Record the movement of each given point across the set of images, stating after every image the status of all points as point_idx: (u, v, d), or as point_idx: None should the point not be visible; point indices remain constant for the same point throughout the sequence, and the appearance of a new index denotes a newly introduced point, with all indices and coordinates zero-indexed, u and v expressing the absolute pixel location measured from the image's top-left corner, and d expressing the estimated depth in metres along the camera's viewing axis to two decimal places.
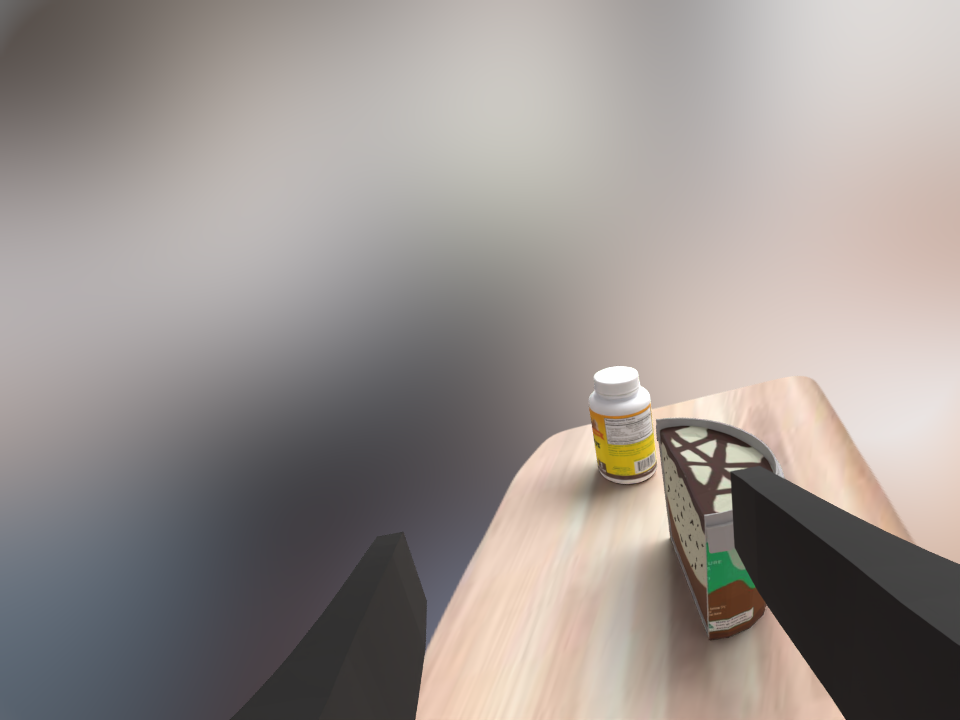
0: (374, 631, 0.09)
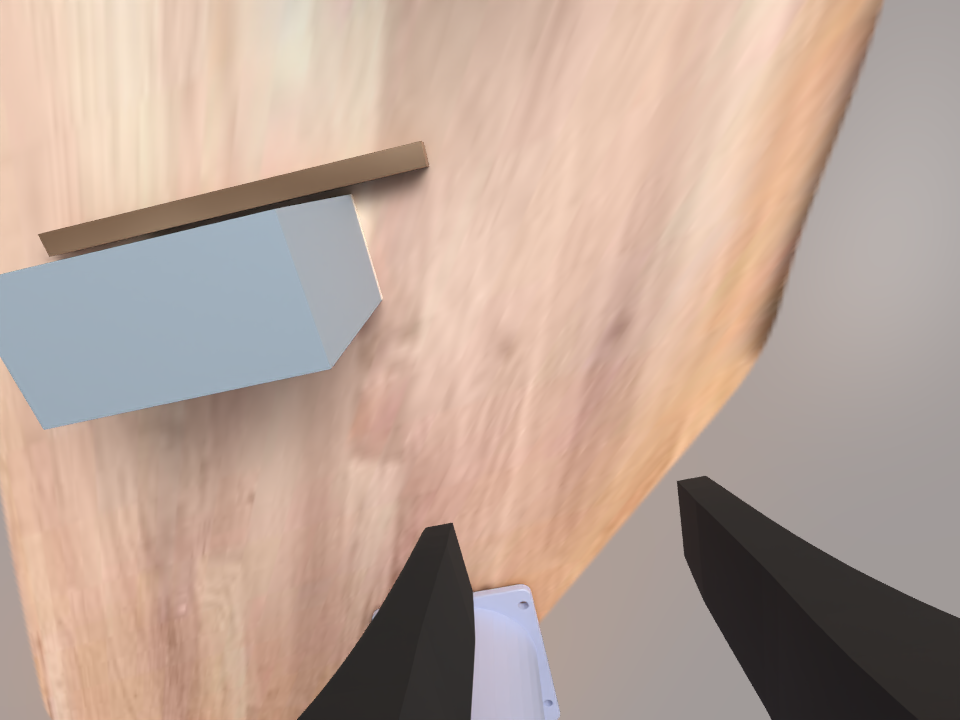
0: (436, 620, 0.09)
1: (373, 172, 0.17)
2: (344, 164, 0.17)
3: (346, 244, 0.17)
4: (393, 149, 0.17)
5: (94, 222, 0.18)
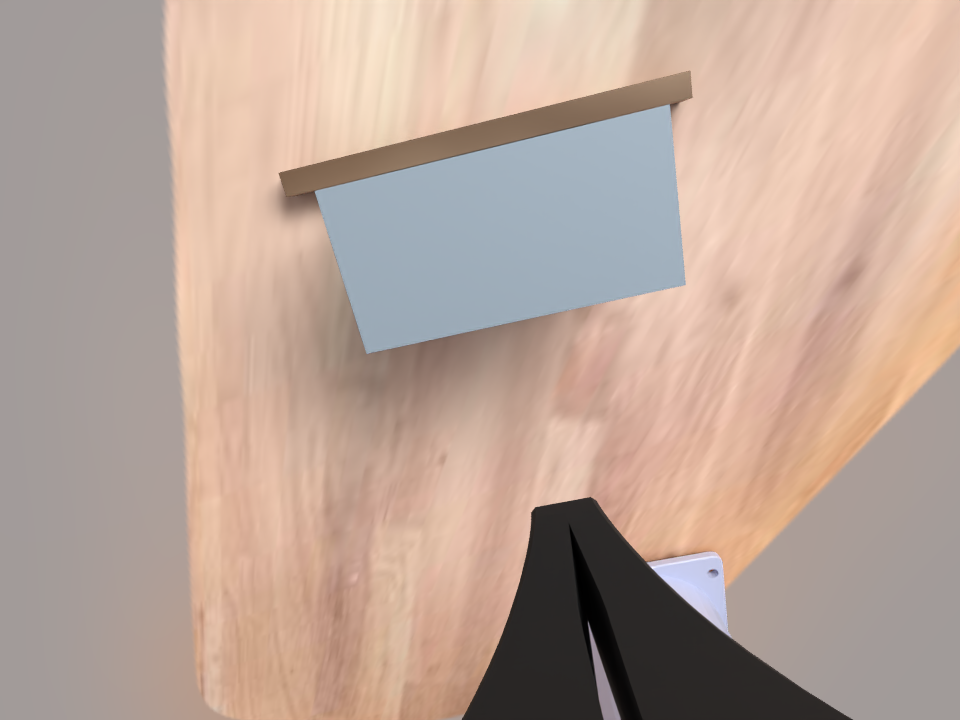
0: (578, 596, 0.08)
1: (635, 105, 0.17)
2: (606, 96, 0.17)
3: None
4: (660, 79, 0.16)
5: (338, 160, 0.17)
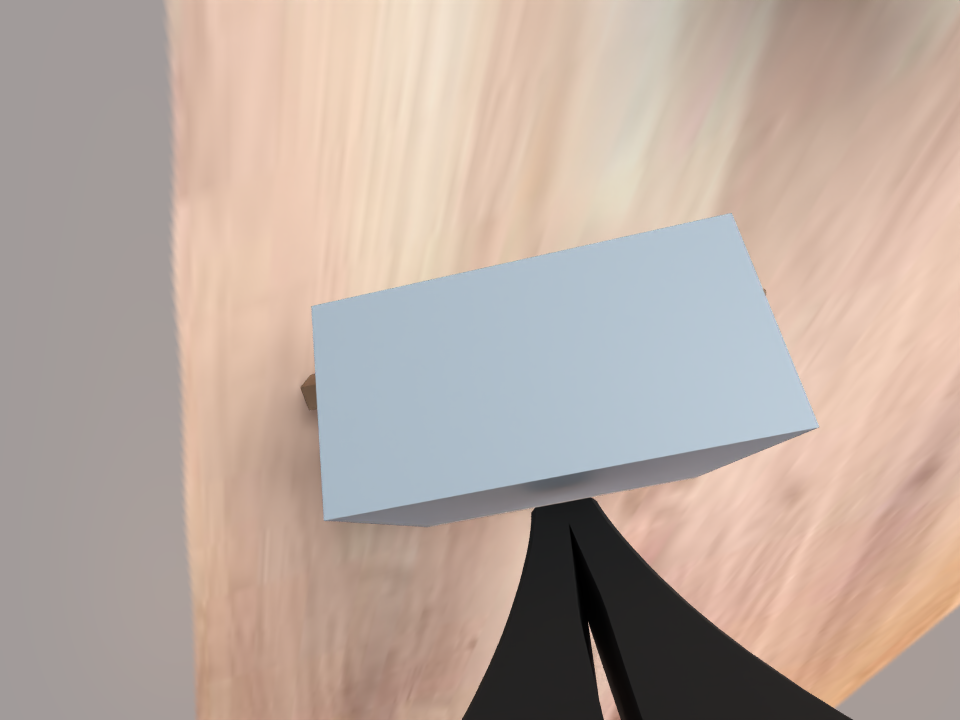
0: (578, 596, 0.08)
1: None
2: None
3: None
4: None
5: None
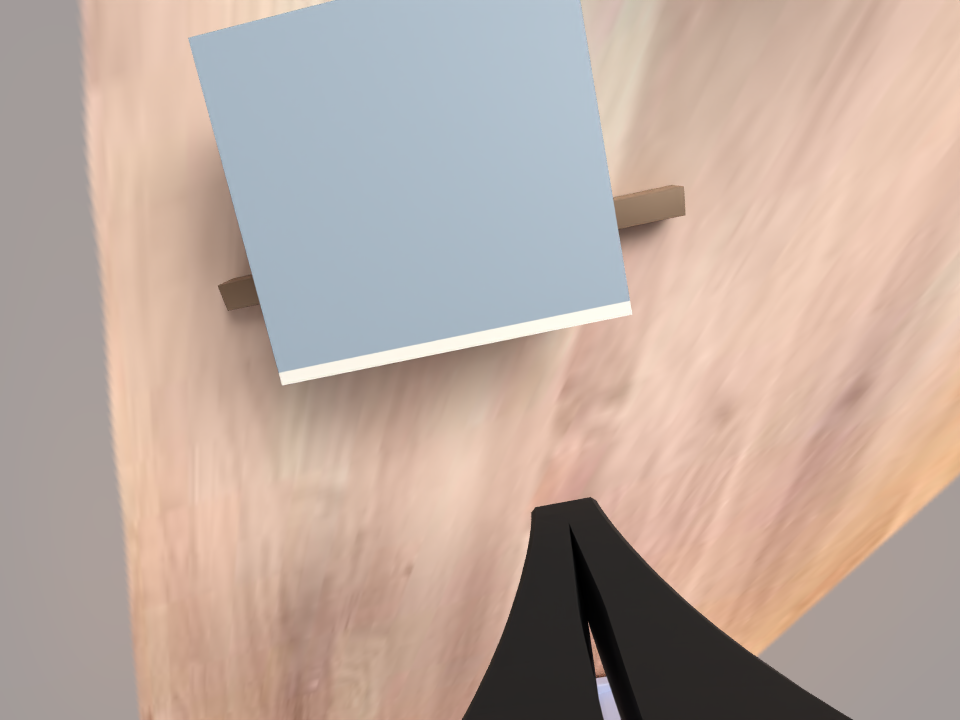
0: (578, 596, 0.08)
1: (621, 221, 0.15)
2: None
3: None
4: (650, 195, 0.14)
5: None
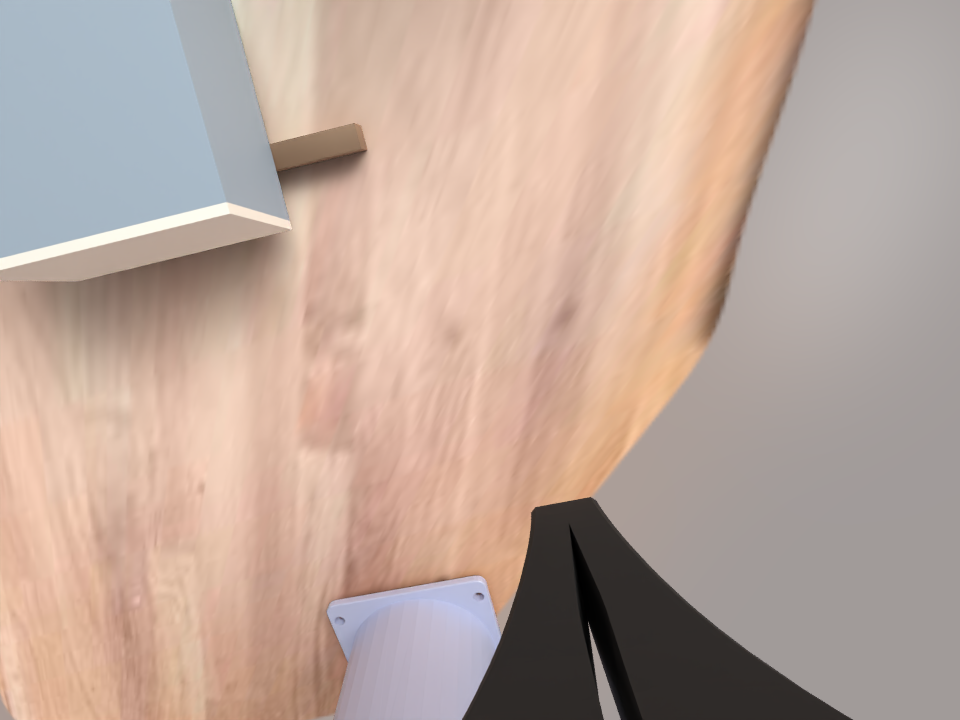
0: (578, 596, 0.08)
1: (307, 155, 0.17)
2: (277, 146, 0.17)
3: (249, 137, 0.15)
4: (327, 131, 0.17)
5: None
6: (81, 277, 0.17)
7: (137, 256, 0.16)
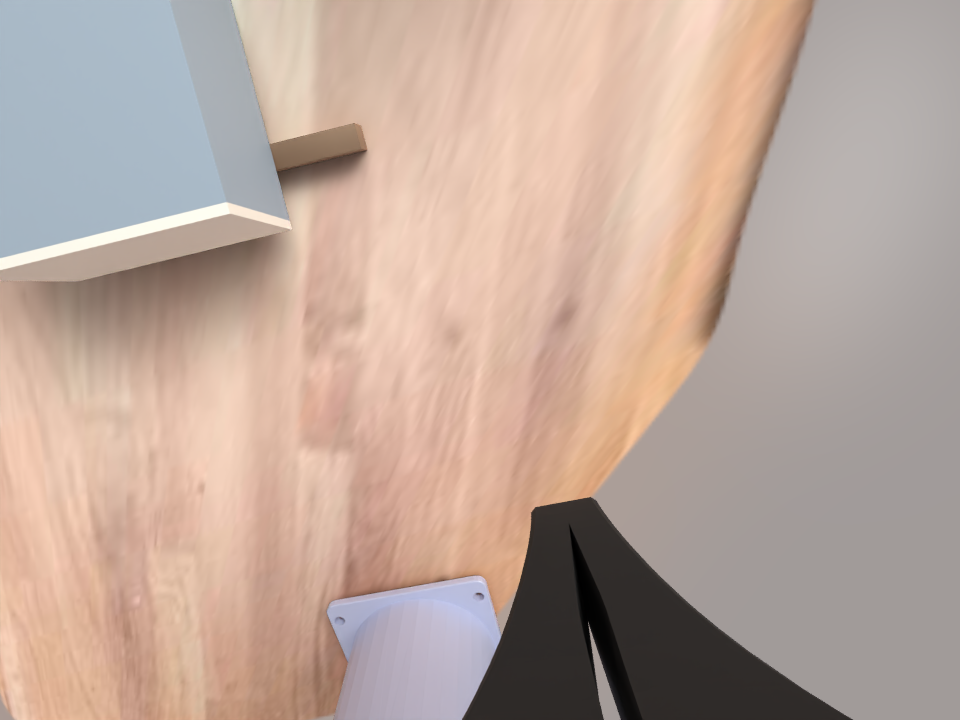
0: (578, 596, 0.08)
1: (307, 155, 0.17)
2: (277, 146, 0.17)
3: (249, 137, 0.15)
4: (327, 131, 0.17)
5: None
6: (81, 277, 0.17)
7: (137, 256, 0.16)
